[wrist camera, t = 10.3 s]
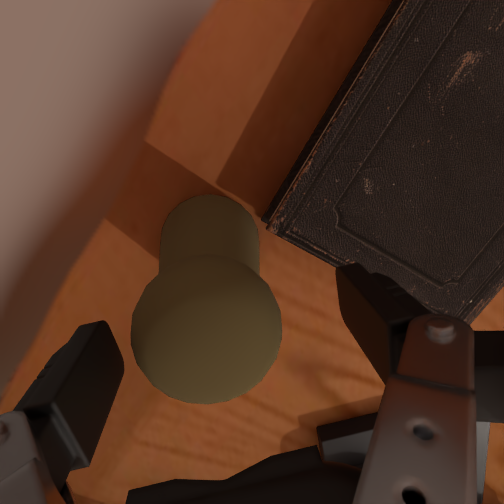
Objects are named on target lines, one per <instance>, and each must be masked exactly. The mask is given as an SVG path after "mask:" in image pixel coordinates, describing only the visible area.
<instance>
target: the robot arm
mask: <svg viewBox="0 0 504 504" xmlns="http://www.w3.org/2000/svg"><path fill="white" fill-rule="evenodd" d="M336 282H337V290H338V298H339V306H340V311H341V315H342V318H343V320H344V322H345V324H346V326H347V327H348V329H349V330H350V332H351V333H352V335H353V336H354V338H355V340H356V341H357V343H358V344H359V346H360V347H361V349H362V350H363V352H364V353H365V355H366V356H367V358H368V359H369V361H370V362H371V364H372V366H373V367H374V369H375V370H376V372H377V373H378V375H379V376H380V378H381V379H382V381H383V382H384V384H385V385H386V386H385V389H384V393H383V397H382V400H381V404H380V407H379V411H378V414H377V418H376V422H375V425H374V429H373V432H372V436H371V439H370V443H369V447H368V450H367V454H366V457H365V461H364V464H363V468H362V469H360V468H357V467H355V466H351V465H348V464H344V463H339V462H333V461H322V460H321V456H320V453H319V450H318V447H317V445H314V446H310V447H306V448H302V449H298V450H294V451H290V452H285V453H281V454H277V455H273V456H270V457H268V458H266V459H264V460H262V461H260V462H259V463H257V464H255V465H253V466H251V467H249V468H247V469H245V470H243V471H241V472H239V473H237V474H235V475H234V476H232V477H230V478H228V479H225V480H188V479H174V480H170V481H165V482H161V483H157V484H153V485H149V486H145V487H141V488H136V489H132V490H129V492H128V496H127V500H126V504H477V434H476V422H493V423H504V331H473V329H472V328H471V327H470V325H468V324H467V323H466V322H464V321H463V320H461V319H459V318H456V317H453V316H450V315H445V314H432V313H431V312H430V311H429V310H428V309H427V308H426V307H424V306H423V305H422V304H421V303H420V302H419V301H417V300H416V299H415V298H414V297H413V296H412V295H410V294H409V293H407V291H406V290H405V289H404V288H402V287H400V285H399V284H398V283H397V282H395V281H394V280H393V279H392V278H391V277H388V276H386V275H383V274H380V273H378V272H376V273H369V272H368V271H367V270H366V269H365V268H364V267H363V266H362V265H361V264H360V263H359V262H356V263H352V264H347V265H343V266H338V267H336ZM123 374H124V361H123V357H122V355H121V352H120V350H119V348H118V345H117V343H116V341H115V338H114V336H113V334H112V332H111V329H110V327H109V325H108V323H107V322H106V321H104V320H102V321H98V322H93V323H89V324H84V325H81V326H79V327H78V328H77V330H76V331H75V333H74V334H73V336H72V337H71V339H70V340H69V341H68V343H66V344H65V345H64V346H63V347H62V348H60V349H59V350H58V351H57V352H56V353H55V354H53V355H52V357H51V358H50V359H49V361H48V362H47V364H46V365H45V366H44V369H42V371H41V372H40V373H39V375H38V376H37V379H36V380H34V382H33V383H32V385H31V386H30V387H29V389H28V390H27V392H26V393H25V394H24V396H23V397H22V398H21V400H20V401H19V403H18V404H17V405H16V407H15V408H14V410H13V411H11V412H7V413H4V414H2V415H0V504H77V502H76V499H75V497H74V494H73V492H72V489H71V487H70V485H69V484H68V482H67V481H66V479H67V477H68V474H69V472H70V471H72V470H76V469H81V468H85V467H89V465H90V463H91V460H92V457H93V455H94V452H95V449H96V447H97V444H98V441H99V439H100V436H101V433H102V431H103V428H104V425H105V423H106V420H107V417H108V415H109V412H110V409H111V407H112V404H113V401H114V399H115V396H116V393H117V391H118V388H119V385H120V383H121V380H122V377H123Z"/></svg>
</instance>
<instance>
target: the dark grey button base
mask: <svg viewBox="0 0 504 504" xmlns="http://www.w3.org/2000/svg"><path fill="white" fill-rule="evenodd" d="M377 414H378V412H377V413H373V414H369V415H365V416H361V417H357V418H352V419H348V420H344V421H340V422H336V423H332V424H328V425H324V426H320V427H317V434H318V439H319V445H320V451H321V457H322V461H333V462H339V463H344V464H348V465H351V466H355V467H357V468H360V469H362V468H363V464H364V461H365V457H366V454H367V450H368V447H369V443H370V439H371V436H372V432H373V429H374V425H375V422H376V418H377ZM489 430H490V422H476V434H477V504H481V503H482V499H483V490H484V480H485V470H486V460H487V450H488V440H489Z"/></svg>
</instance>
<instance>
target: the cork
mask: <svg viewBox="0 0 504 504" xmlns="http://www.w3.org/2000/svg"><path fill="white" fill-rule="evenodd" d="M281 339H282V323H281V313H280V309H279V306H278V304H277V301H276V299H275V297H274V295H273V293H272V291H271V289H270V287H269V285H268V284H267V283H266V282H265V281H264V280H263V279H262V278H261V277H260V276H259V237H258V229H257V227H256V225H255V223H254V220H253V218H252V216H251V215H250V214H249V213H248V212H247V211H246V210H245V209H244V208H243V207H242V206H241V205H240V204H238V203H237V202H235V201H233V200H231V199H229V198H227V197H223V196H217V195H212V194H209V195H202V196H195V197H192V198H190V199H188V200H186V201H184V202H182V203H180V204H179V205H178V206H177V207H176V208H175V209H174V210H173V211H172V212H171V213H170V214H169V215H168V217H167V219H166V221H165V223H164V225H163V227H162V234H161V242H160V259H159V274H158V275H157V276H156V277H155V278H154V279H153V280H152V281H151V282H150V283H149V284H148V285H147V286H146V287H145V289H144V291H143V293H142V295H141V297H140V299H139V301H138V303H137V305H136V307H135V310H134V312H133V315H132V326H131V346H132V349H133V353H134V356H135V359H136V363H137V365H138V366H139V367H140V369H141V370H142V372H143V373H144V374H145V376H146V377H147V378H148V379H149V381H150V382H151V383H152V385H153V386H154V387H156V388H157V389H159V390H160V391H162V392H163V393H165V394H166V395H168V396H169V397H172V398H175V399H178V400H181V401H184V402H187V403H197V404H213V403H218V402H224V401H229V400H231V399H233V398H236V397H238V396H240V395H242V394H245V393H247V392H248V391H249V390H250V389H252V388H253V387H254V386H255V385H257V384H258V383H259V382H260V381H261V380H262V379H263V377H264V376H265V374H266V373H267V372H268V370H269V369H270V367H271V366H272V364H273V363H274V361H275V360H276V358H277V354H278V351H279V347H280V343H281Z"/></svg>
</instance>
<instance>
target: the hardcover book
mask: <svg viewBox="0 0 504 504" xmlns="http://www.w3.org/2000/svg"><path fill="white" fill-rule="evenodd" d="M261 221H263V222H265V223H267V224H268V225H267V227H266V230H268V231H270V232H271V233H273V234H275V235H277V236H279V237H281V238H283V239H284V240H286V241H288V242H290V243H292V244H294V245H295V246H297V247H299V248H301V249H303V250H305V251H306V252H308V253H310V254H312V255H314V256H316V257H317V258H319V259H321V260H323V261H325V262H327V263H329V264H330V265H332V266H334V267H338V266H343V265H347V264H352V263H356V262H359V263H360V264H361V265H362V266H363V267H364V268H365V269H366V270H367V271H368V272H369V273H376V272H378V273H380V274H383V275H386V276H388V277H391V278H392V279H393V280H394V281H395V282H397V283H398V284H399V285H400V287H402V288H404V289H405V290H406V291H407V293H409V294H410V295H412V296H413V297H414V298H415V299H416V300H417V301H419V302H420V303H421V304H422V305H423V306H424V307H426V308H427V309H428V310H429V311H430V312H431V313H432V314H445V315H450V316H453V317H456V318H459V319H461V320H463V321H464V322H466V323H467V324H468V325H470V324H471V323H472V322H473V321H474V319H475V318H476V317H477V316H478V315H479V314H480V313H481V311H482V310H483V309H484V308H485V307H486V306H487V305H488V303H489V302H490V301H491V300H492V299H493V298H494V296H495V295H496V294H497V293H498V292H499V291H500V290H501V288H502V287H503V286H504V0H392V2H391V4H390V5H389V7H388V9H387V10H386V12H385V14H384V15H383V17H382V19H381V20H380V22H379V24H378V25H377V27H376V29H375V30H374V32H373V34H372V35H371V37H370V39H369V40H368V42H367V44H366V45H365V47H364V49H363V50H362V52H361V54H360V55H359V57H358V59H357V60H356V62H355V64H354V65H353V67H352V69H351V70H350V72H349V74H348V75H347V77H346V79H345V80H344V82H343V84H342V85H341V87H340V89H339V90H338V92H337V94H336V95H335V97H334V99H333V100H332V102H331V104H330V105H329V107H328V109H327V110H326V112H325V114H324V115H323V117H322V119H321V120H320V122H319V124H318V125H317V127H316V129H315V130H314V132H313V134H312V135H311V137H310V139H309V140H308V142H307V144H306V145H305V147H304V149H303V150H302V152H301V154H300V155H299V157H298V159H297V160H296V162H295V164H294V165H293V167H292V169H291V170H290V172H289V174H288V175H287V177H286V179H285V180H284V182H283V184H282V185H281V187H280V189H279V190H278V192H277V194H276V195H275V197H274V199H273V200H272V202H271V204H270V205H269V207H268V209H267V210H266V212H265V214H264V215H263V217H262V219H261Z"/></svg>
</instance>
